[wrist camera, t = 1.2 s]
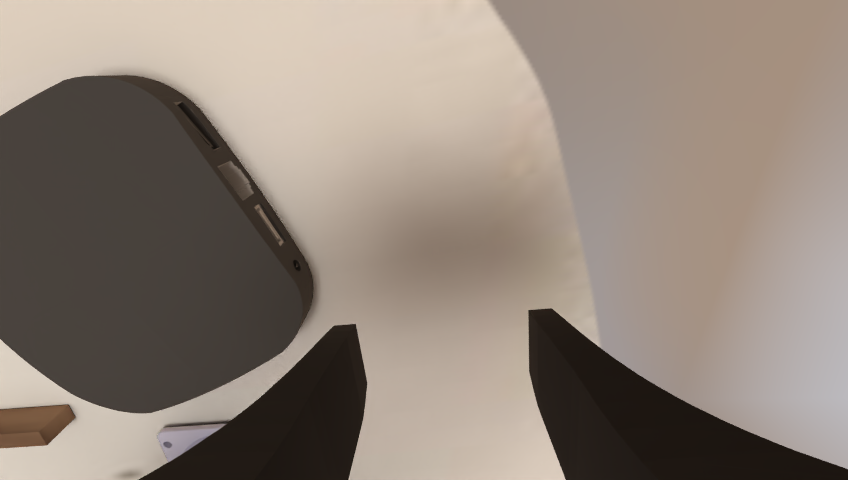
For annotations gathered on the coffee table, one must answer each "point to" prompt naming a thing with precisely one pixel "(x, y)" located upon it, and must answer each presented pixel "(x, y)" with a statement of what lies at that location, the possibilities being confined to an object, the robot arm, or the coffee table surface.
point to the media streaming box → (138, 247)
